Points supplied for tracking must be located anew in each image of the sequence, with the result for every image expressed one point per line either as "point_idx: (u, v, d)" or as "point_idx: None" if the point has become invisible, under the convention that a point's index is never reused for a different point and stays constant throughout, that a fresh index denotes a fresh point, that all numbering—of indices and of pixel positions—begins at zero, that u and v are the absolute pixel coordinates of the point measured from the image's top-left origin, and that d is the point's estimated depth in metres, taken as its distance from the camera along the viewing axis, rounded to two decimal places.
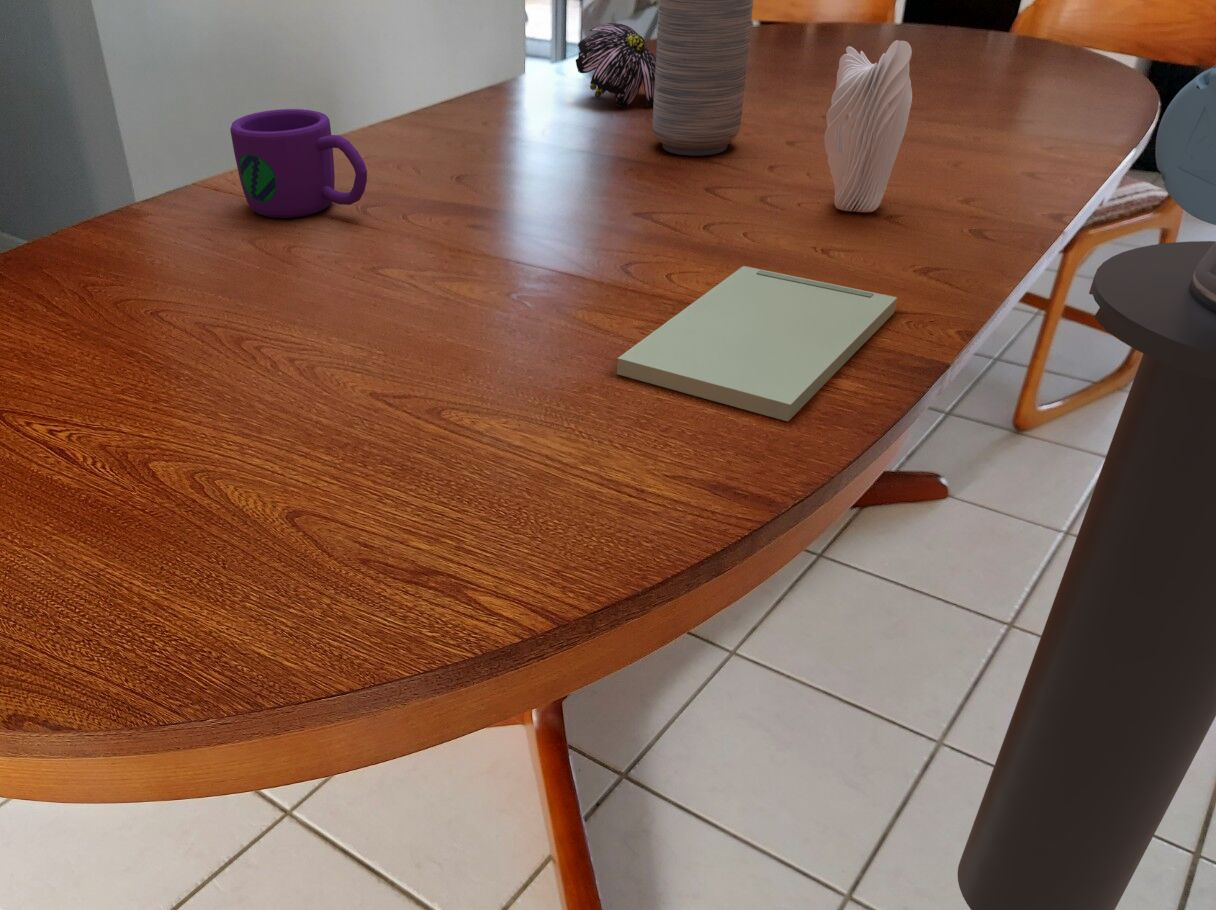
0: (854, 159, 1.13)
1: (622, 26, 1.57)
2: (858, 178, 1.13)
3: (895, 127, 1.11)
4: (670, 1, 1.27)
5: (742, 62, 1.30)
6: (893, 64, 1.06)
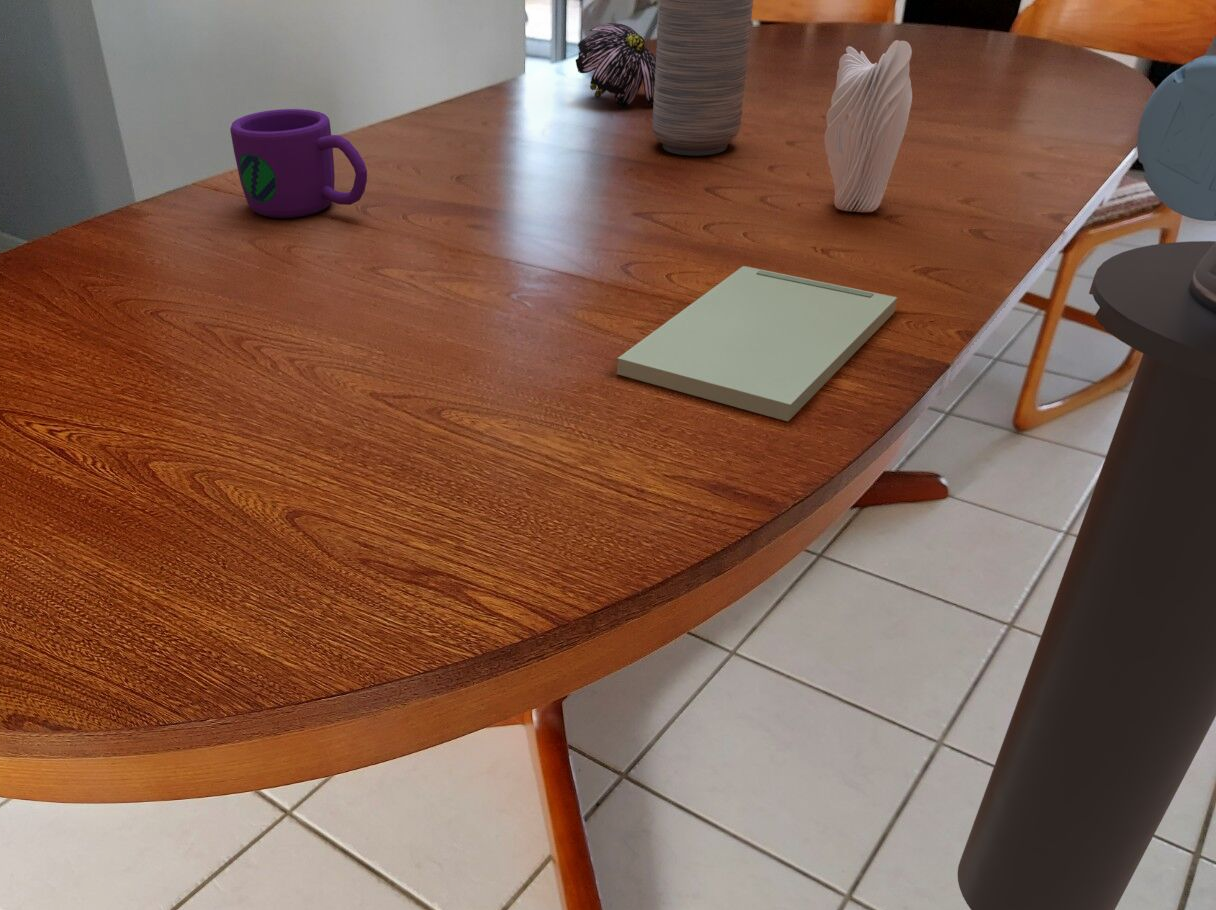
0: (854, 159, 1.13)
1: (622, 26, 1.57)
2: (858, 178, 1.13)
3: (895, 127, 1.11)
4: (670, 1, 1.27)
5: (742, 62, 1.30)
6: (893, 64, 1.06)
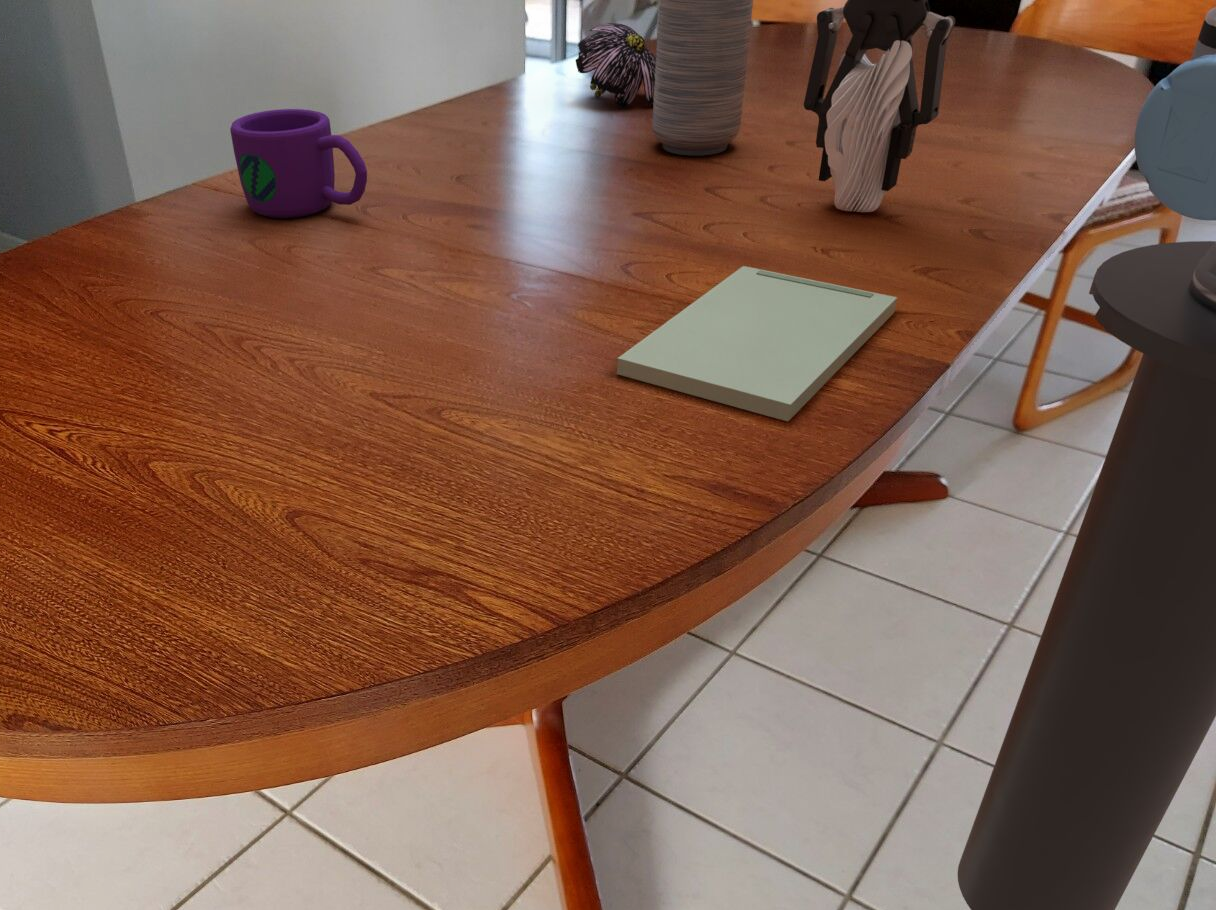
0: (855, 159, 1.13)
1: (622, 26, 1.57)
2: (858, 178, 1.13)
3: None
4: (670, 1, 1.27)
5: (742, 62, 1.30)
6: (894, 64, 1.06)
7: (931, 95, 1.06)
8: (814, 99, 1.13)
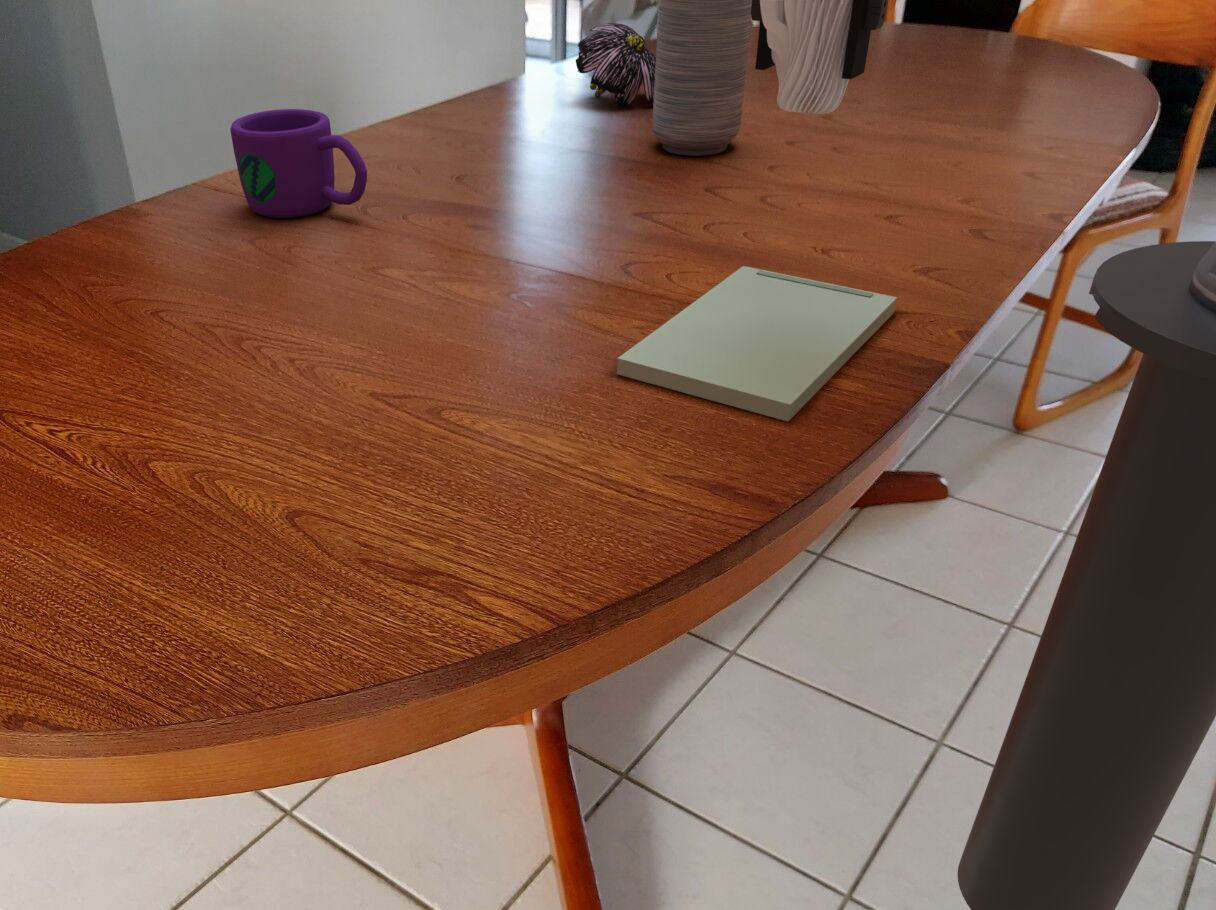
0: (804, 33, 0.78)
1: (622, 26, 1.57)
2: (809, 61, 0.79)
3: None
4: (670, 1, 1.27)
5: (742, 62, 1.30)
6: None
7: None
8: None
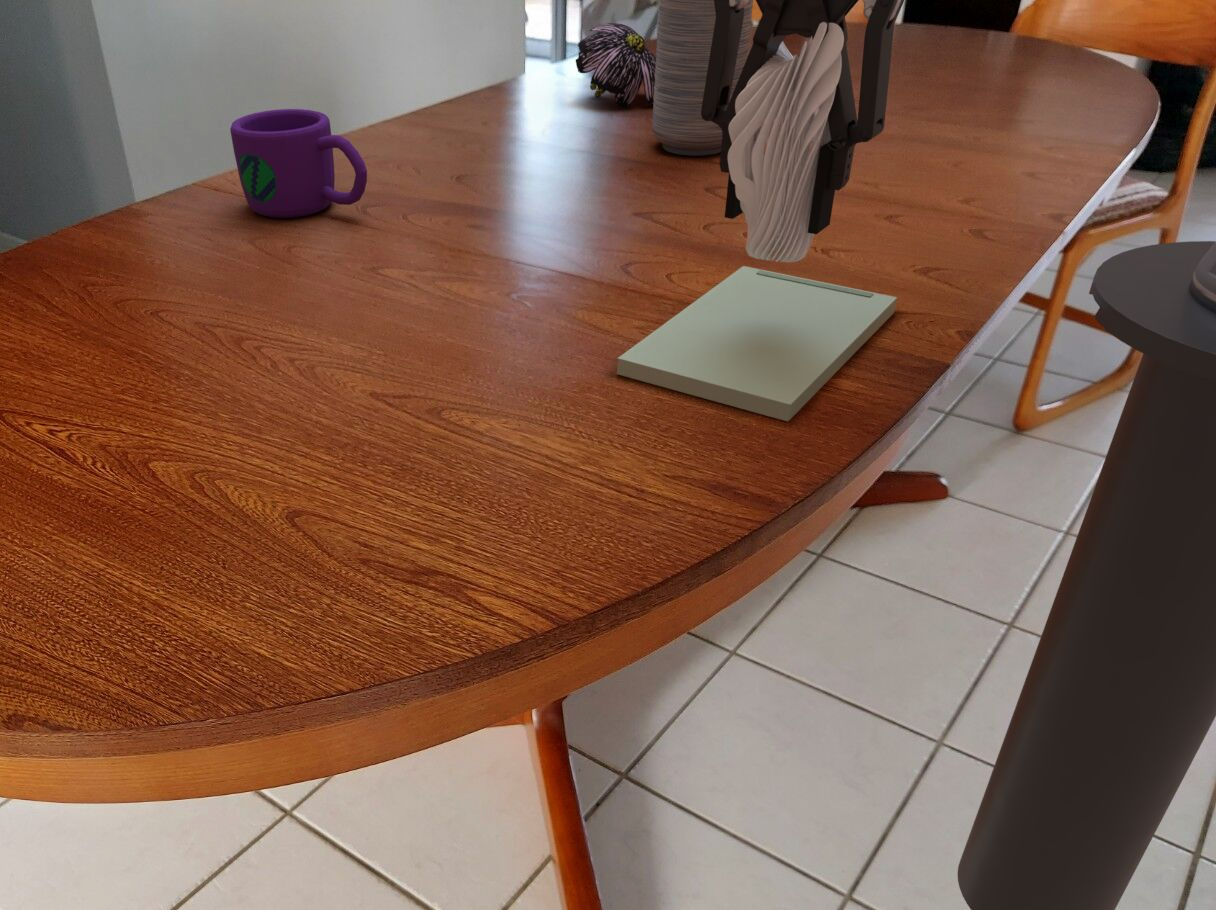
0: (770, 190, 0.81)
1: (622, 26, 1.57)
2: (776, 216, 0.81)
3: None
4: (670, 1, 1.27)
5: (742, 62, 1.30)
6: (819, 56, 0.74)
7: (872, 101, 0.74)
8: (714, 106, 0.81)
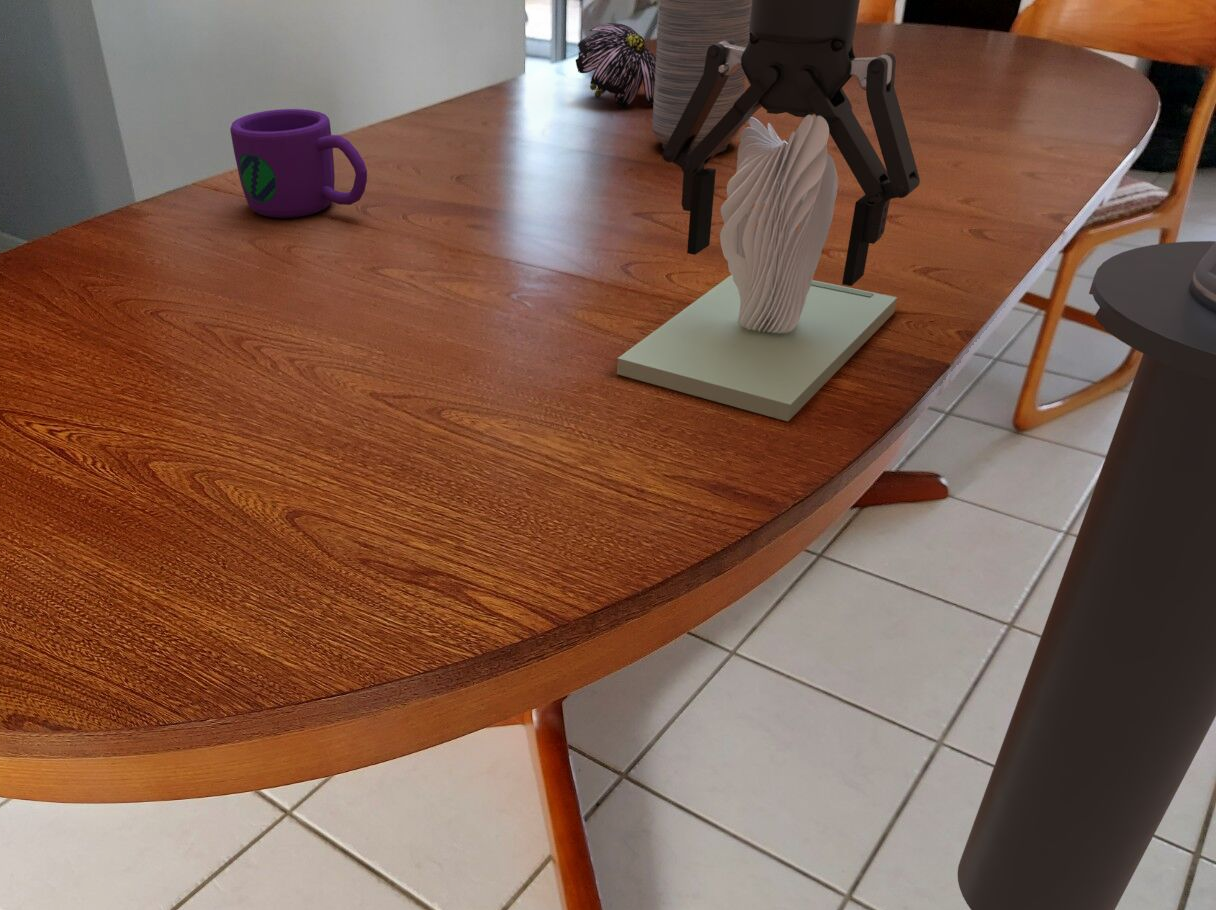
0: (761, 266, 0.84)
1: (622, 26, 1.57)
2: (767, 291, 0.85)
3: (814, 225, 0.83)
4: (670, 1, 1.27)
5: None
6: (806, 146, 0.77)
7: (897, 158, 0.75)
8: (677, 152, 0.85)
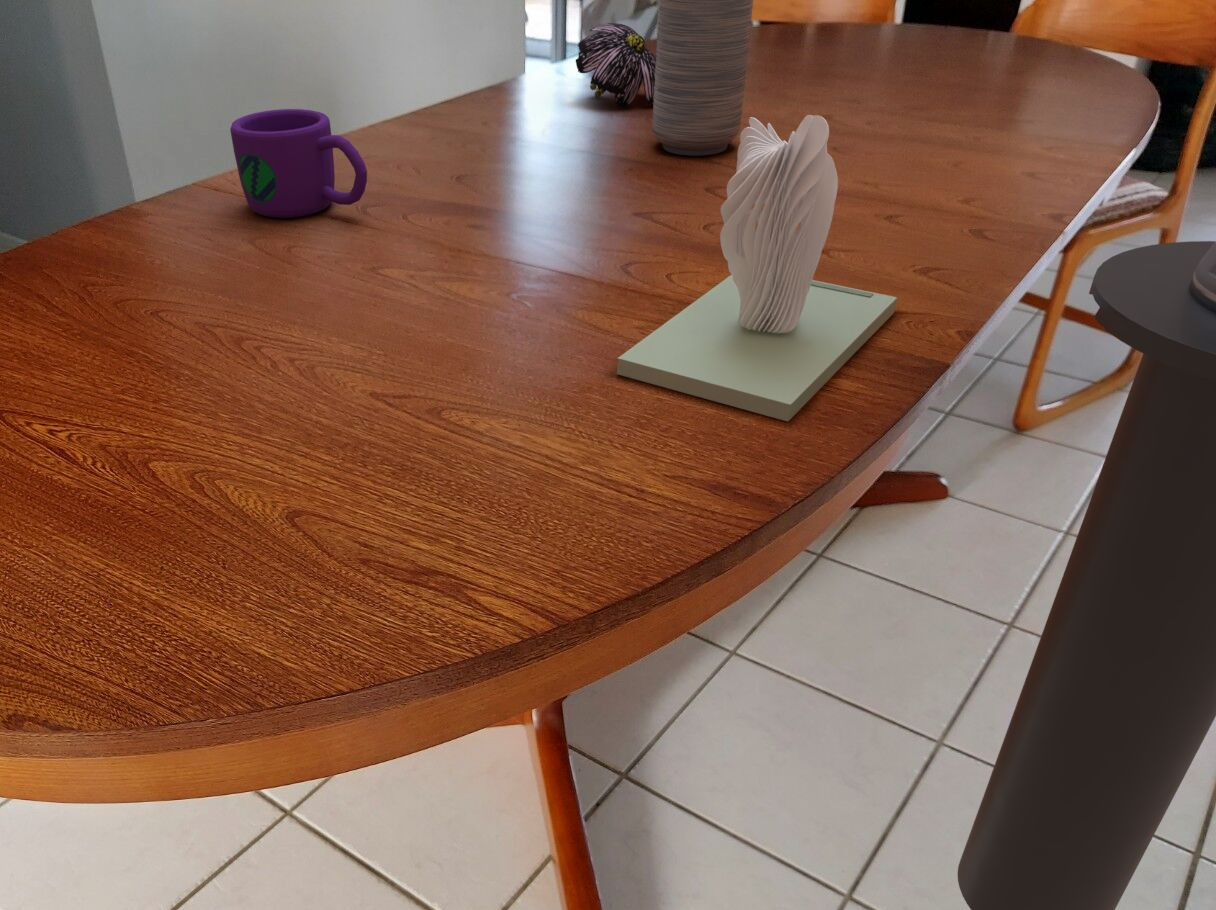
0: (761, 266, 0.84)
1: (622, 26, 1.57)
2: (767, 291, 0.85)
3: (814, 225, 0.83)
4: (670, 1, 1.27)
5: (742, 62, 1.30)
6: (806, 146, 0.77)
7: None
8: None
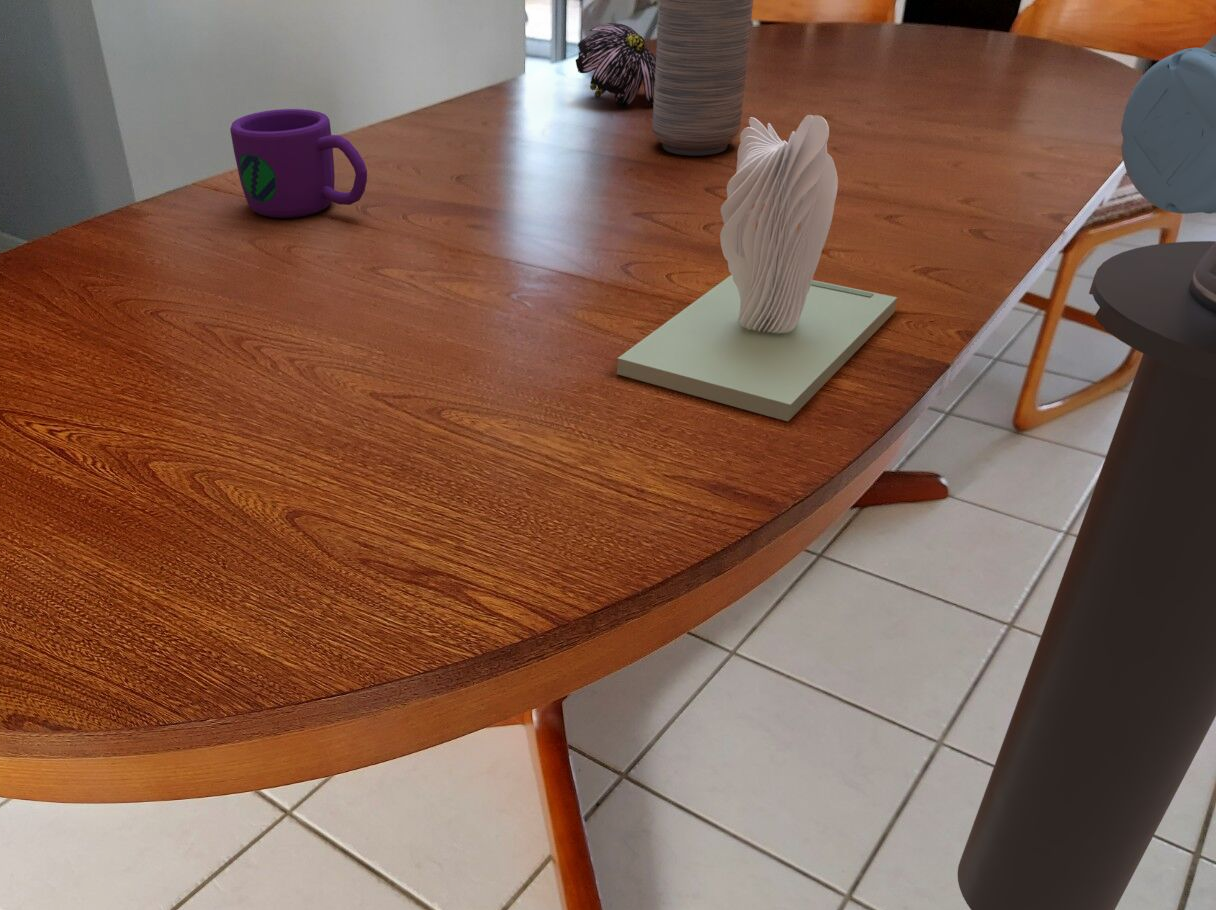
0: (761, 266, 0.84)
1: (622, 26, 1.57)
2: (767, 291, 0.85)
3: (814, 225, 0.83)
4: (670, 1, 1.27)
5: (742, 62, 1.30)
6: (806, 146, 0.77)
7: None
8: None
